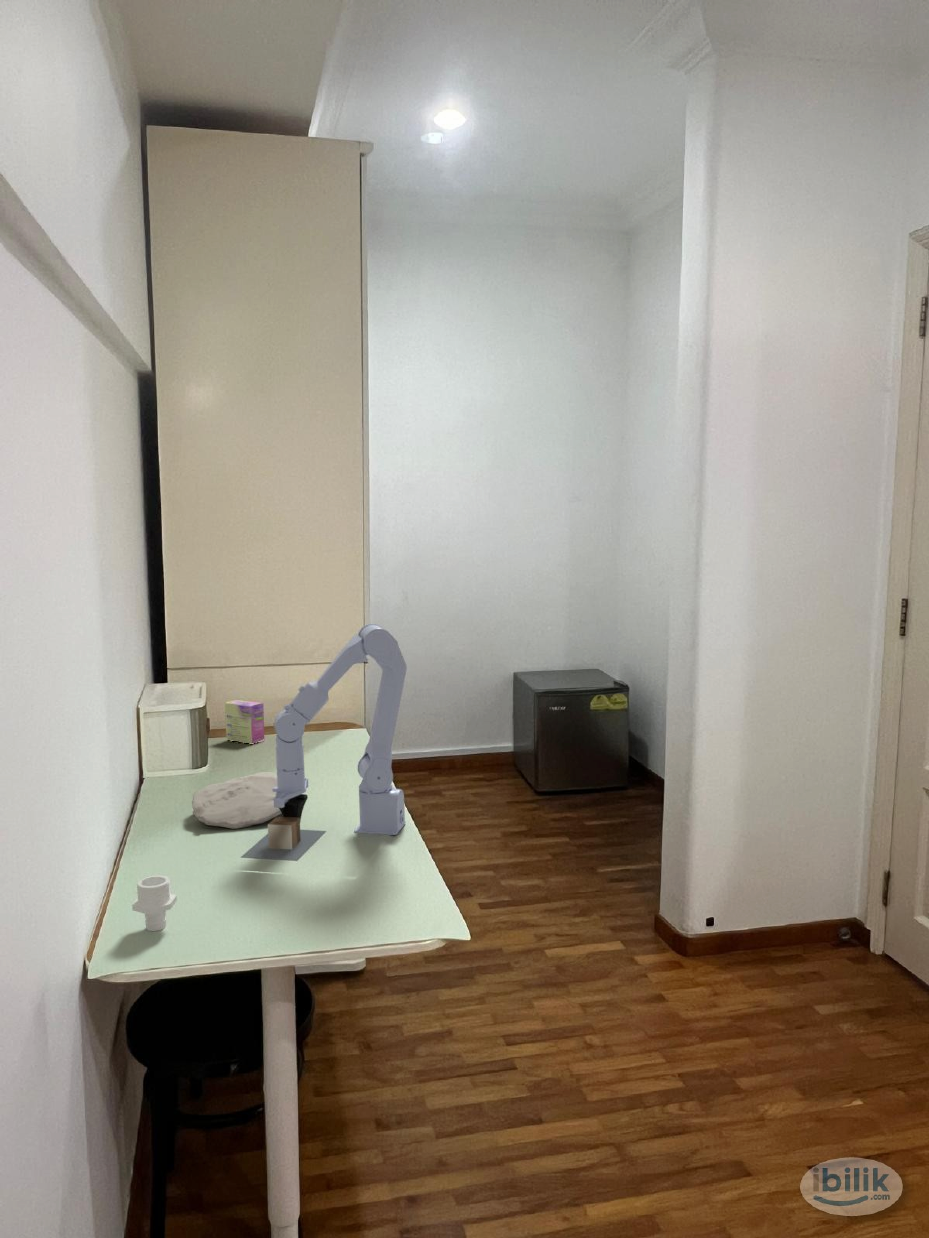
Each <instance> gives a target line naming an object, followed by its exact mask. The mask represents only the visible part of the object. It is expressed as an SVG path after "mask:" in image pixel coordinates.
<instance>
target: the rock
mask: <svg viewBox="0 0 929 1238" xmlns="http://www.w3.org/2000/svg"><path fill="white" fill-rule="evenodd" d="M275 786H277V774H274V773H273V772H270V771H268V772H266V771H263V772H262V771H261V772H260V771H258V772H255V773H253V774H250V775H245V776H240V777H235V778H230V779H227V780H226V781H224V782H219V783H212V784H207V786H205V787H203V788H202V789H200V790H198V791H196V792H194V793H193V795H192V801H191V804H192V805H191V807H192V809H193V810H192V813H193V815H194V816H195V818H196V819H197V820H198V821H200V822H202V823H203V824H205V825H207V826H213V827H221V828H226V829H234V830H235V829H236V830H237V829H243V828H247V827H251V826H254V825H261V824H264V823H265V822H268V821H270V820H273V819H275V818H276V817H279V815H282V813H281V811H280V809H279V808H274V801H273V799H274V798H275V796H276V792H273V791H272V788H273V787H275Z"/></svg>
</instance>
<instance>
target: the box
mask: <svg viewBox="0 0 929 1238" xmlns="http://www.w3.org/2000/svg"><path fill="white" fill-rule="evenodd" d="M224 714H225V740H226V739H228V740H233V741H239V742H243V743H242V744H244V743H256V742H258V741H261V740H263V739H264V740H265V718H264V717H265V712H264V702H257V701H249V700H241V699H235V700H230V701H227V702H225V703H224Z"/></svg>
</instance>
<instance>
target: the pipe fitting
mask: <svg viewBox="0 0 929 1238" xmlns="http://www.w3.org/2000/svg"><path fill="white" fill-rule="evenodd" d="M136 889H137V892H136V894H137V898H136V899H135V900H134V901H133V902H132V904H131V908H132V911H134V912H137V913H141V914H144V918H145V922H144V923H145V927H146V928H145V929H146V930H147V931H149V932H157V931H162V930H163V929H165V928H166V927H167V917H166V913H167V911H169V910H172V908H173V907H174V905H175V904H176V902H177V901H178V899H177V894H174V893H171V880H170V877H168V876H166V875H151V876H147V877H144V878H142V879H140V880H139V881H137V882H136Z"/></svg>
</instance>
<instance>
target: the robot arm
mask: <svg viewBox="0 0 929 1238" xmlns="http://www.w3.org/2000/svg"><path fill="white" fill-rule="evenodd" d="M367 656H369V657H371V658H372V659H373V660H374V661H375V662H376V663H377V664H378V666H379V668H380V669H381V670H382V672H381V677H380V683H379V689H378V694H377V698H376V703H375V709H374V713H373V719H372V725H371V730H370V734H369V735H370V736H369V739H368V742H367V744H366V746H365V749H364V753H363V755H362V757H360V759H359V761H358V763H357V772H358V775H359V777H361V779H362V780H361V782H360V784H359V785H358V797H359V798H358V803H359V805H358V806H359V824H358V825H357V826H356V827H355V829H354V830H353V832H354V833H355V834H372V835H373V834H374V835H391V836H395V835H396V836H397V835H398V833H399V832H400V831H401V829H402V828H403V827H404V826H405V825H406V820H405V819H406V817H405V816H406V815H405V814H406V813H405V795H404V794H405V793H404V791H403V789H401V788H394V787H393V784H392V783H393V781H394V774H393V770H392V763H393V753H392V747H393V742H394V741H393V740H394V737H395V731H396V726H397V722H398V721H397V720H398V716H399V710H400V704H401V700H402V694H403V690H404V686H405V679H406V674H407V670H408V668H407V664H406V661H405V659H404V656H403V653H402V651H401V649H400V645H399V642H398V640H397V639H396V638H395V637H394V636H393V634H391V633H390V632H389V631H388V630H387V629H385V628H383V627H382V626H381V625H379V624H378V623H377V624H376V623H367V624H366V625H364V626H362V627H361V628H360V629H359V630H358V634H357V633H356V634H354V635H353V636H352V637H351V638H350V639H349V640H348V641H347V643H346V644H345V646H344V647H342V649H341V650H340V652H339V653H338V654H337V655H336V657H335V658H334V659H333V660H332V661H331V663H330V664H329V665H328V667H327V668H326V669H325V670H324V672H323V673H322V674H321V675H320V677H318V679H317V680H316V681H309V682H306V684H305V685H303V684H301V685H300V687H298V689H297V690H298V693H297V694H296V696H295V697H293V699H292V700H291V701H290V702H289V703H288V704H287V703H286V704H285V705H283V709H284V710H281V711H280V712H278V713H277V714H276V716H275V717H274V722H273V729H274V731H275V733H276V739H275V743H276V747H275V757H276V758H275V761H276V776H277V786H275V787H273V788H272V791H273V792H276V796H275V798H274V799H273V801H274V808H279V809H280V811H281V815H282V817H296V818H300V822H301V821H302V816H303V815H302V814H303V811H304V807H305V805H306V802H307V800H308V796H309V795H308V794H304V793H306V792H307V788H309V777H307V778H306V777H305V775H306V773H305V753H304V751H305V750H304V744H303V736H304V733H305V729H306V725H307V724H309V723H310V722H311V721H312V720H313V719H314V717H316V715H317V714H318V713H319V712H320V710H322V708H323V707H324V706H325V705H326V704H327V703H328V701H329V700H330V699H329V691H330V690H331V689H332V688H333V687H334V686H335V685H336V684H337V683H338V682H339V681H340V680H341V678H343V677H344V676H345V674H347V672H348V671H349V670H350V669H351V668H352V667H353V666H354V665H355V664H361V663H364V662H368V661H369V659H368V657H367Z"/></svg>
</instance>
